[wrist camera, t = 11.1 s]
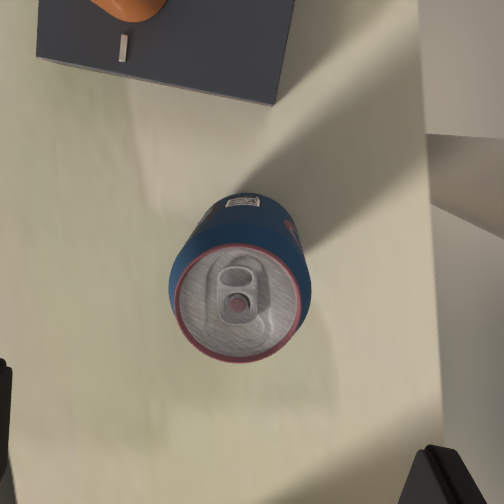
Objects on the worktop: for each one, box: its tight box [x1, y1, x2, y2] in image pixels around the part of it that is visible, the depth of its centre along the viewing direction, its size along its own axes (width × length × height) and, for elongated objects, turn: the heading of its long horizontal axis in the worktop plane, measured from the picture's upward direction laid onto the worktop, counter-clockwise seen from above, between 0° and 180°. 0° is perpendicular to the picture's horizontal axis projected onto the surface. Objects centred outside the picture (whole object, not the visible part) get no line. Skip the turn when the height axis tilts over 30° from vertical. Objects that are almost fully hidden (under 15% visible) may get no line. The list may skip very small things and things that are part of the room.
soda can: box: [169, 193, 311, 363], centre depth 26 cm, size 7×7×12 cm
